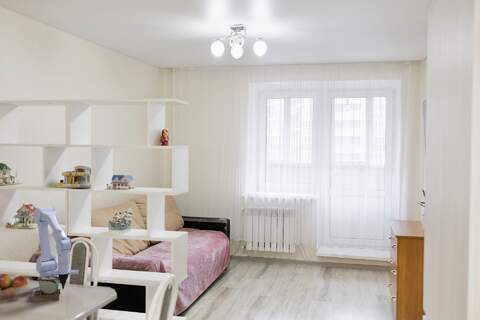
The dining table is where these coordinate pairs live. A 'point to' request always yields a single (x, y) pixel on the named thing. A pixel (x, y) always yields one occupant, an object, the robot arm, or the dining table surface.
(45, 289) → the food container
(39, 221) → the robot arm
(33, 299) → the bottom track
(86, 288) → the dining table surface
